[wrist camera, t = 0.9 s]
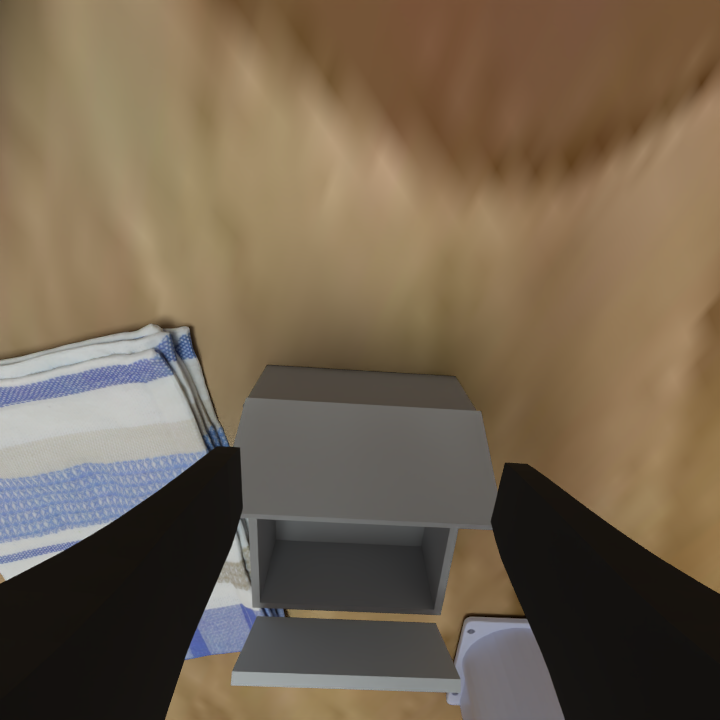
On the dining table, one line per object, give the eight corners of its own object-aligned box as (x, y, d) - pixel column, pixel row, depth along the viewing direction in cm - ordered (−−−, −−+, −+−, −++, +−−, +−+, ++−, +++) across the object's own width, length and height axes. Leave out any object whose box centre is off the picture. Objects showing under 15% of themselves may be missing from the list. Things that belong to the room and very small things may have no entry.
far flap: (435, 623, 20) (435, 633, 20) (256, 616, 20) (255, 626, 20) (461, 679, 16) (460, 692, 16) (232, 671, 15) (230, 685, 15)
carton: (426, 546, 24) (440, 615, 20) (270, 539, 24) (252, 607, 20) (455, 376, 20) (481, 418, 16) (267, 364, 20) (243, 404, 16)
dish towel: (192, 309, 19) (166, 324, 17) (300, 619, 28) (294, 662, 25) (-116, 366, 20) (-186, 389, 18) (78, 649, 29) (50, 693, 26)
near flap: (499, 530, 13) (504, 526, 12) (219, 517, 13) (216, 512, 12) (477, 417, 16) (480, 411, 15) (248, 404, 15) (246, 397, 15)
